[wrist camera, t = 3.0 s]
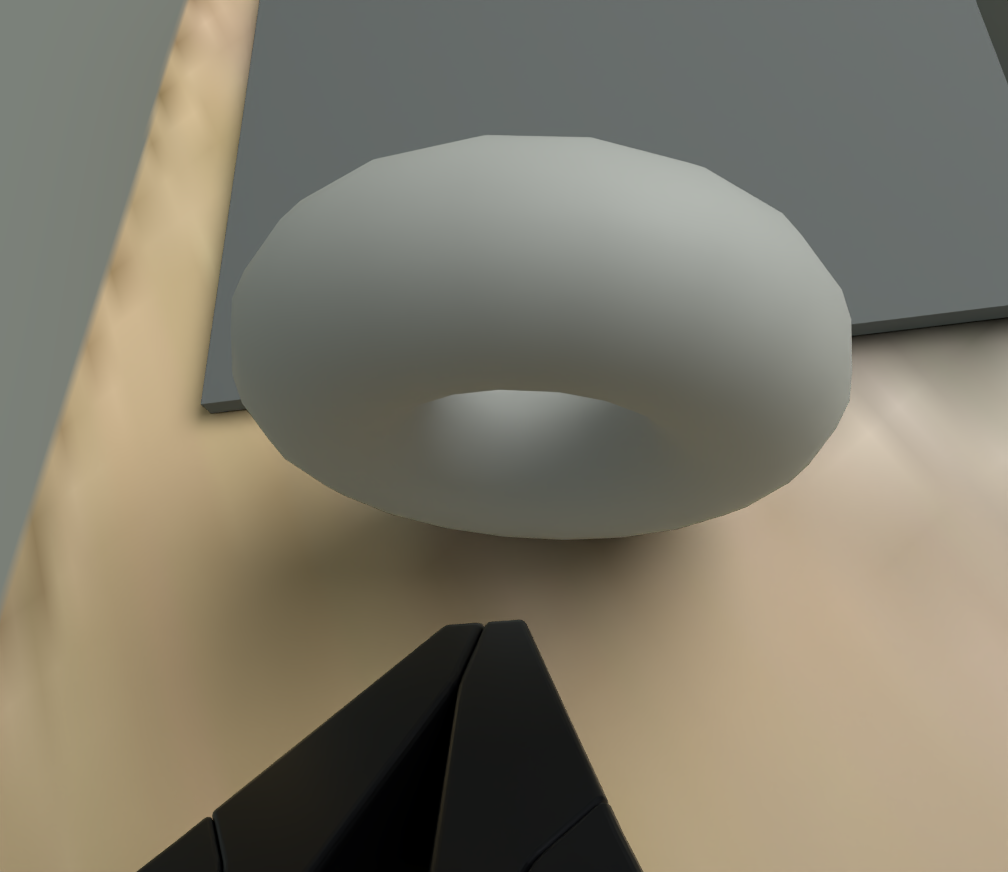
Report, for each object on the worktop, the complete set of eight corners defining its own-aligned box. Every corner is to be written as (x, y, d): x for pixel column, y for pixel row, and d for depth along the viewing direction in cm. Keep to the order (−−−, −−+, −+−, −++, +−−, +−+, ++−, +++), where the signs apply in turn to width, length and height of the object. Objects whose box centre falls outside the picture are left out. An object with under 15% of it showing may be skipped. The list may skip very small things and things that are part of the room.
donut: (347, 562, 19) (49, 322, 10) (368, 423, 21) (123, 107, 12) (819, 569, 17) (952, 273, 8) (807, 414, 19) (908, 20, 10)
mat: (1078, 308, 18) (1088, 295, 18) (211, 413, 22) (201, 404, 21) (879, -226, 27) (882, -244, 27) (281, -92, 30) (275, -106, 30)
